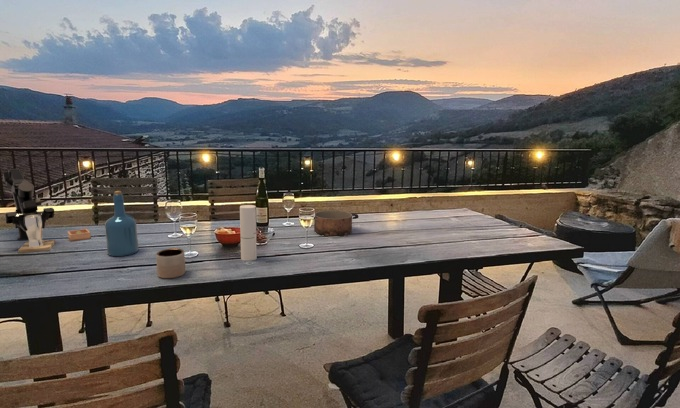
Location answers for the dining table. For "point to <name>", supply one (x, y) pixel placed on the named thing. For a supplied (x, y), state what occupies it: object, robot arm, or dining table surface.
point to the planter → (170, 263)
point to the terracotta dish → (79, 235)
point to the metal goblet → (34, 229)
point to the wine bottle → (121, 230)
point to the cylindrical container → (248, 232)
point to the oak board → (45, 247)
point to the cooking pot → (333, 223)
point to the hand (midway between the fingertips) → (34, 229)
